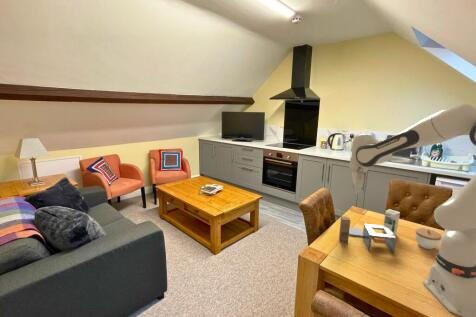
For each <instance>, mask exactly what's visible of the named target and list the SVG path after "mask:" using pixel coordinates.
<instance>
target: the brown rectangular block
mask: <svg viewBox="0 0 476 317" xmlns="http://www.w3.org/2000/svg"><path fill="white" fill-rule="evenodd" d="M339 225H340V226H339V234H338V241H339V243H340V244H346V245H348V243H349V239H350V238H349V229H350V228H351V226H350V225H351V219H350V216H345V215H341V217H340V224H339Z"/></svg>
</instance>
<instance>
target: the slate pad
mask: <svg viewBox="0 0 476 317" xmlns="http://www.w3.org/2000/svg"><path fill="white" fill-rule="evenodd" d="M349 236H350V237H358V238H359V237H360V238H362V237H363V229H362V228H360V227H359V228H357V227H350V229H349Z"/></svg>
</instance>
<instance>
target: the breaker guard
mask: <svg viewBox="0 0 476 317" xmlns="http://www.w3.org/2000/svg"><path fill="white" fill-rule="evenodd" d="M375 230H382V231H383V230H384V231H385V234H382V232H381V233H380V232H375ZM362 232H363V237H361V238H362V240H363V243H364V245H365V247H366V249H367V251H371V245H372V241H373V239H372V237H377V238H384V239H385V245H386V247H387V248H388V250H389V251H390V253H391V254H392V255H394V254H395V250H396V243H397V237H396V235H394V234H393V232H392V231H391V229H390V228H389V227H388V226H383V225H382V224H381V225H380V224H379V225H378V224H369V223H364V224H363V229H362Z"/></svg>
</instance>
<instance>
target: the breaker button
mask: <svg viewBox="0 0 476 317" xmlns="http://www.w3.org/2000/svg"><path fill="white" fill-rule="evenodd" d="M372 242H373V243H376V244H384V245H386V243H385V239H384V238H377V237H372Z"/></svg>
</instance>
